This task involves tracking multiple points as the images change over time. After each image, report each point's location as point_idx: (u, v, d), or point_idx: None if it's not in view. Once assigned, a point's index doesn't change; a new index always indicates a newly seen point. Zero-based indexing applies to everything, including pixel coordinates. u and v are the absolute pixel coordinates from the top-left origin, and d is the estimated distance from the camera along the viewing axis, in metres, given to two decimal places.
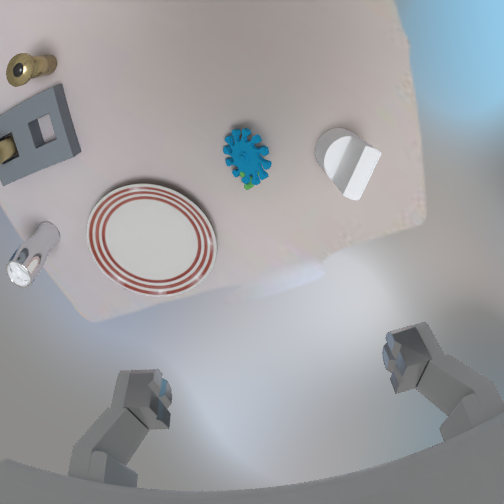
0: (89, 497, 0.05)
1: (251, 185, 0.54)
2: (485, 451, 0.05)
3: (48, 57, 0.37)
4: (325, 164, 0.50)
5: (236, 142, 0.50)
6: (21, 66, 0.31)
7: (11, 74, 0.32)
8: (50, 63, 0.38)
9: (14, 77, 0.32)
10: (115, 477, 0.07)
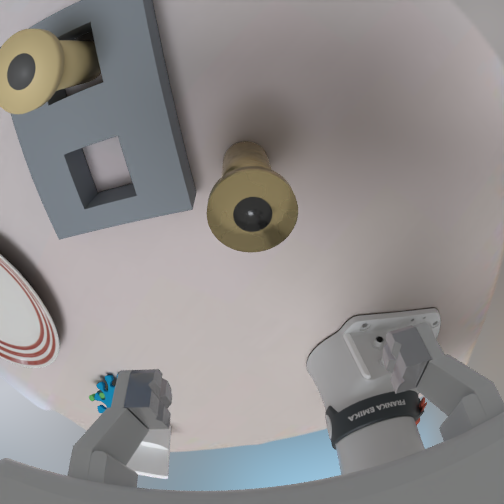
0: (89, 497, 0.05)
1: None
2: (485, 451, 0.05)
3: None
4: None
5: None
6: (259, 225, 0.20)
7: (247, 190, 0.18)
8: None
9: (235, 201, 0.19)
10: (115, 477, 0.07)
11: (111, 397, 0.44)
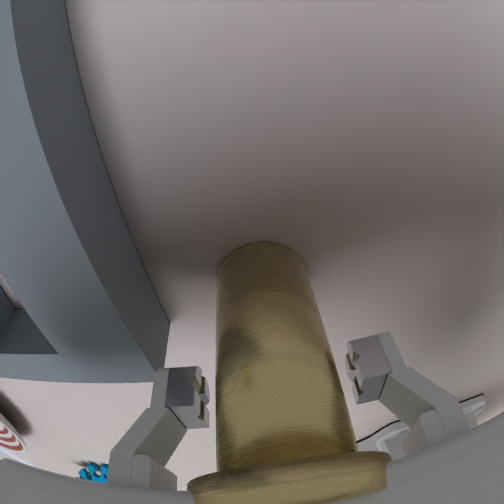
0: (89, 497, 0.05)
1: None
2: (485, 451, 0.05)
3: None
4: None
5: None
6: None
7: None
8: None
9: None
10: (158, 481, 0.07)
11: None
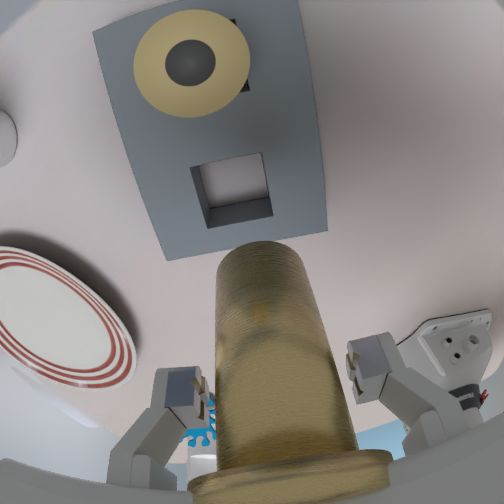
0: (89, 497, 0.05)
1: None
2: (485, 451, 0.05)
3: None
4: (202, 454, 0.50)
5: None
6: None
7: None
8: None
9: None
10: (158, 481, 0.07)
11: None
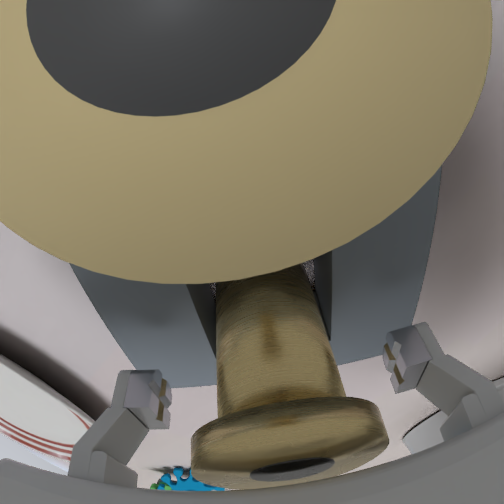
0: (89, 497, 0.05)
1: None
2: (485, 451, 0.05)
3: None
4: None
5: (209, 489, 0.33)
6: (302, 475, 0.08)
7: (287, 457, 0.06)
8: None
9: (256, 467, 0.07)
10: (115, 477, 0.07)
11: (180, 490, 0.33)
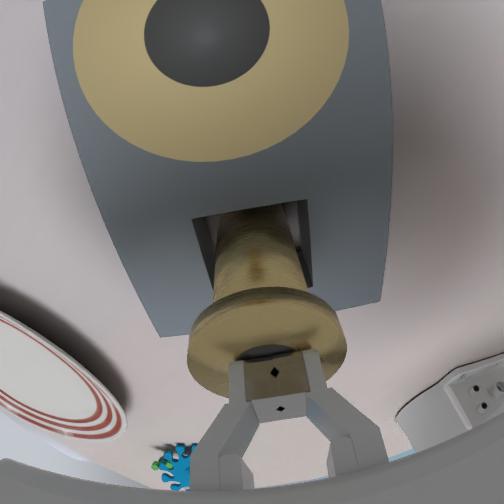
0: (89, 497, 0.05)
1: None
2: (485, 451, 0.05)
3: None
4: None
5: None
6: None
7: (260, 337, 0.10)
8: None
9: (237, 351, 0.10)
10: (246, 480, 0.07)
11: (181, 468, 0.37)
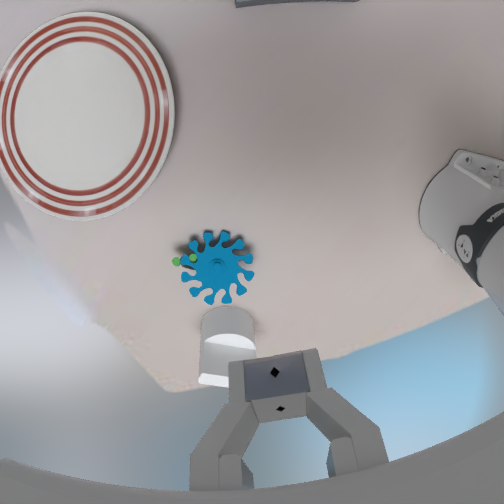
0: (89, 497, 0.05)
1: (177, 265, 0.42)
2: (485, 451, 0.05)
3: None
4: (221, 335, 0.47)
5: (236, 258, 0.42)
6: None
7: None
8: None
9: None
10: (246, 480, 0.07)
11: (206, 260, 0.42)
